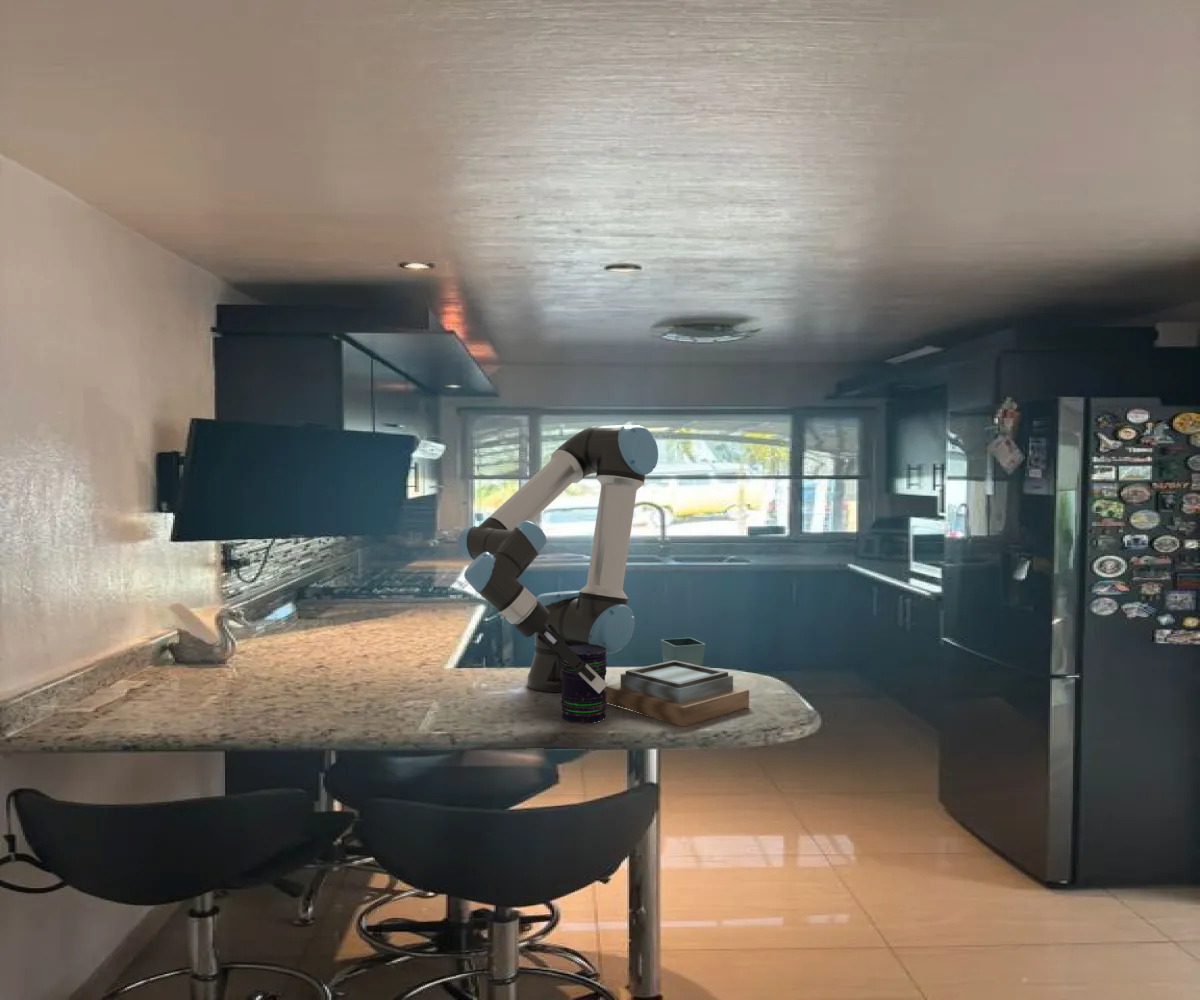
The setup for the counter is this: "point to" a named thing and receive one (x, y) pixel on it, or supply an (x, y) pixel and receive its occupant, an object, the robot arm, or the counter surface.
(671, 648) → the flower pot
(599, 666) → the dark blue cylinder
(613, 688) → the tower base
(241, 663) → the counter surface
